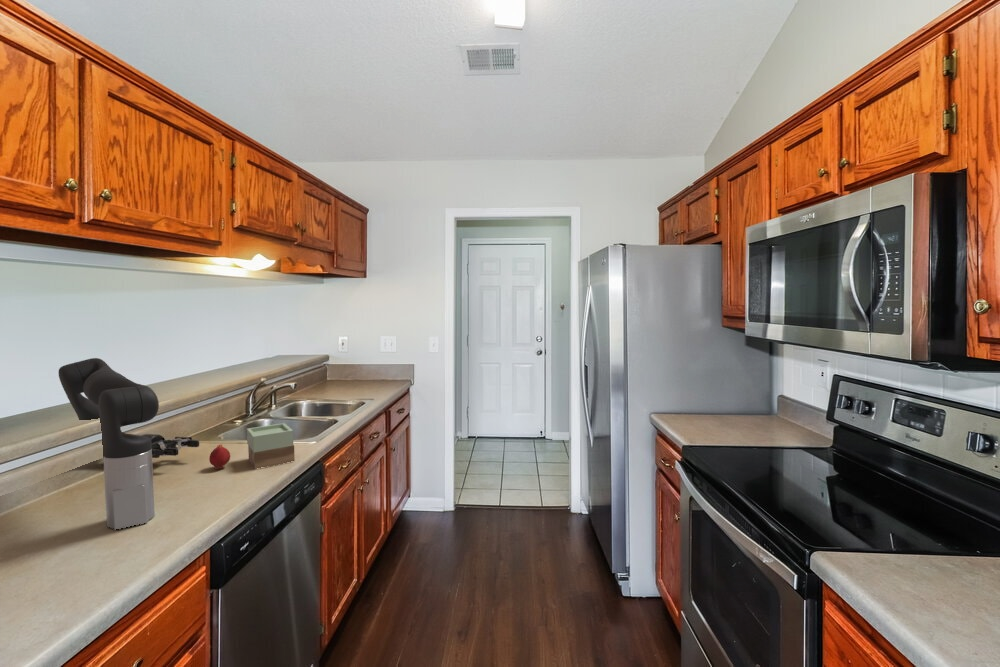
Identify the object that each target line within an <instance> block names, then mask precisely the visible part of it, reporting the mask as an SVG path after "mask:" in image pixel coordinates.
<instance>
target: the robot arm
mask: <svg viewBox="0 0 1000 667" xmlns="http://www.w3.org/2000/svg"><path fill="white" fill-rule="evenodd" d="M58 378H59V382H60V384H61V387H62V389H63V391H64V393H65V394H66V397H67V399H68V402H70V405H71V407H72V408H73V410H74V411H75V414H76V416H77V418H78V421H79V420H91V419H98V418H100V423H101V431H102V445H103V460H102V461H103V475H104V476H103V477H104V478H103V479H104V497H105V511H106V512H105V513H106V526H107V528H109V527H110V528H109V529H113V528H114V529H113V530H114V531H117V530H116V529H119V530H122V529H121V528H123V529H127V528H126V527H128V528H131V527H130V526H132V527H135V526H134V525H136V526H140V525H143V524H144V523H145V524H147V523H148V522H149V521H150V520H152V519H153V518H154V517H155V511H156V510H155V496H154V495H155V493H154V492H155V490H154V473H153V472H154V470H153V469H154V468H153V459H158V458H160V456H161V457H165V456H166V457H167V456H174V457H176V456H178V455H179V450H181V449H183V448H199V447H200V441H199V440H197V439H196V440H195V439H193V437H191V436H175V437H174V438H172V439H171V438H165V437H164V436H163V435H161V434H154V433H153V434H152V433H125V432H123V431H122V430H121V427H126V426H129V425H130V426H132V425H136V424H142V423H146V422H149V421H151V420H153V419H154V418H155V417H156V416H157V414H158V413H159V408H160V407H159V406H160V403H159V398H158V396H157V394H156V393H155V391H154V390H153V389H152V388H151V387H149V386H148V385H144V384H140V383H138V382H134V381H132V380H131V379H128V378H127V377H126V376H125V375H122V374H121V373H119V372H117V371H116V370H114V369H113V368H111V367H110V366H109V364H108V363H106V362H105V361H104V360H103V359H101V358H98V357H92V358H88V359H87V358H86V359H84V360H80V361H77V362H76V361H74V362H72V363H68V364H65V365H62V366H60V367H59V368H58ZM83 394H84V395H83ZM139 524H140V525H139Z"/></svg>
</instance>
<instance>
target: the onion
mask: <svg viewBox="0 0 1000 667" xmlns="http://www.w3.org/2000/svg"><path fill="white" fill-rule="evenodd" d="M208 459H209V463H210V465H212V467H215V468H217V469H222V468H224V467H225V465H226V464H228V463H229V462H230V460H231V453H230V451H229V450H228V449H227V448H226V447H224V446H223V444H222V443H220V444H217V446H216V447H215V448H214V449H213V450H212V451H211V452H210V454H209V458H208Z"/></svg>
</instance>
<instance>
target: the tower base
mask: <svg viewBox="0 0 1000 667" xmlns="http://www.w3.org/2000/svg"><path fill="white" fill-rule="evenodd" d="M247 445H248V444H247ZM247 447H248V448H247V449H248V460H250V461H249V462H250V464H251V463H252V464H251V465H252V466H254V467H253V468H254V470H258V469H257V468H260V469H262V468H261V467H265V468H268V467H267V466H270V467H274V466H273V465H275V466H279V465H278V464H280V465H284V464H283V463H285V464H288V463H287V462H290V463H292V462H291V461H295V460H296V459H295V458H296V457H295V445H294V444H293V446H288V447H282V448H276V449H271V450H265V451H259V452H253V450H252V449H251V448H250V446H249V445H248V446H247Z"/></svg>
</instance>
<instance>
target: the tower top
mask: <svg viewBox="0 0 1000 667" xmlns="http://www.w3.org/2000/svg"><path fill="white" fill-rule="evenodd" d="M246 437H247V438H246V442H247V445H249V446H250V448H251V449H252V450H253V452H259V451H265V450H271V449H276V448H282V447H288V446H293V445H294V429H292V428H291V427H290V426H288V425H287V424H286V423H285V422H283V423H282V422H281V423H278V424H277V423H275V424H269V425H261V426H257V427H256V426H255V427H249V428H246Z"/></svg>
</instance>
